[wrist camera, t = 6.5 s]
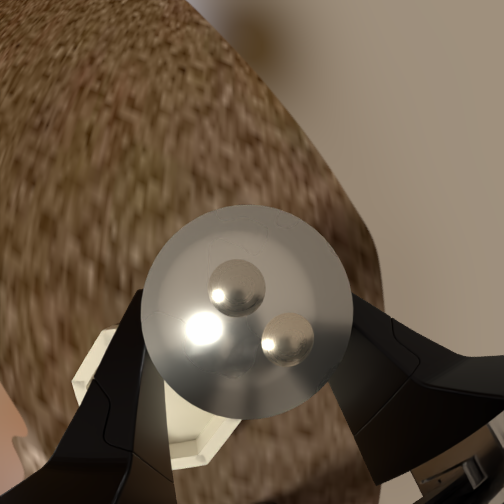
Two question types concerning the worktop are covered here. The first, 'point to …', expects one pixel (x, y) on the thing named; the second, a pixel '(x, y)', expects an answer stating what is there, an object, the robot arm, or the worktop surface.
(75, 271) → the worktop surface
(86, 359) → the bowl
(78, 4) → the worktop surface
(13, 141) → the worktop surface
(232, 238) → the canister
